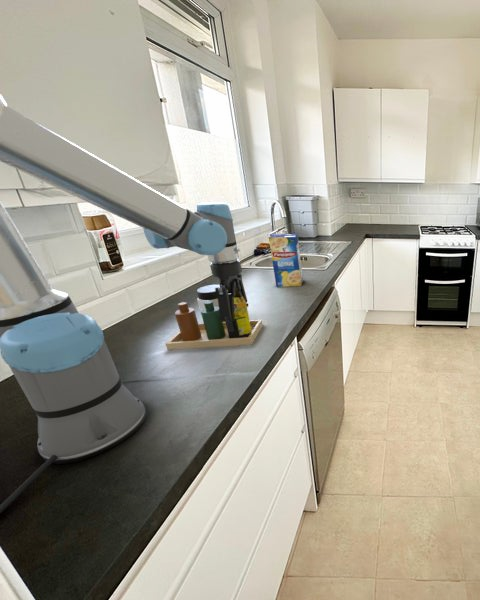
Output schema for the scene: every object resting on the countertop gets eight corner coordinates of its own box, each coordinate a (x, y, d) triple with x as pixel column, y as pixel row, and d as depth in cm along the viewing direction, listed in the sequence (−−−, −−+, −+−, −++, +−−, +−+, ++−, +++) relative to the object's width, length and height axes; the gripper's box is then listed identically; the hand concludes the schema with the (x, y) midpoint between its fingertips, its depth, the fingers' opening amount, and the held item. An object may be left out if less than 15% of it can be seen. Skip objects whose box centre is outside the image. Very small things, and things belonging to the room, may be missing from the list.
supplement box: (252, 334, 95) (246, 301, 91) (230, 340, 92) (223, 306, 88) (249, 327, 100) (242, 295, 95) (228, 332, 96) (220, 299, 92)
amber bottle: (197, 341, 92) (187, 306, 88) (179, 342, 92) (168, 307, 87) (204, 333, 97) (195, 299, 92) (187, 334, 96) (177, 300, 92)
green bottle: (222, 340, 93) (213, 305, 89) (205, 341, 93) (195, 305, 88) (228, 332, 98) (220, 298, 93) (211, 333, 97) (203, 299, 93)
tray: (251, 346, 91) (250, 338, 90) (168, 352, 88) (165, 343, 87) (263, 327, 103) (261, 319, 102) (189, 331, 100) (187, 323, 99)
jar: (204, 329, 101) (195, 294, 97) (202, 320, 108) (194, 287, 103) (234, 322, 106) (227, 289, 101) (231, 314, 112) (224, 282, 108)
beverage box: (301, 285, 141) (295, 236, 132) (276, 286, 139) (268, 237, 131) (303, 280, 147) (297, 233, 138) (279, 282, 145) (271, 234, 137)
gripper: (225, 270, 78) (241, 349, 87) (250, 251, 97) (261, 318, 105) (192, 271, 77) (213, 351, 86) (224, 252, 96) (238, 319, 104)
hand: (239, 332), depth 96 cm, fingers closed on supplement box, 8 cm apart
